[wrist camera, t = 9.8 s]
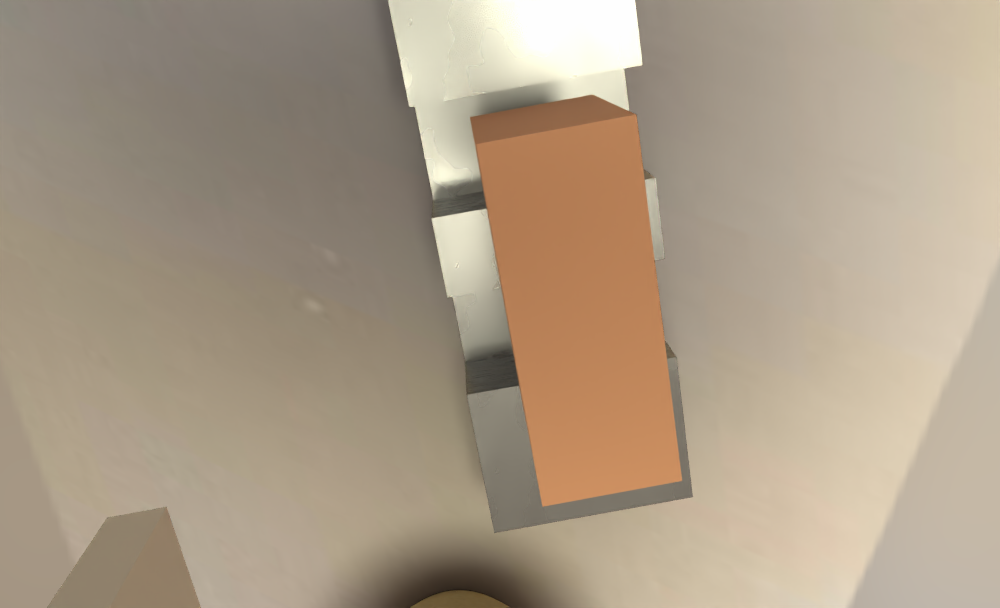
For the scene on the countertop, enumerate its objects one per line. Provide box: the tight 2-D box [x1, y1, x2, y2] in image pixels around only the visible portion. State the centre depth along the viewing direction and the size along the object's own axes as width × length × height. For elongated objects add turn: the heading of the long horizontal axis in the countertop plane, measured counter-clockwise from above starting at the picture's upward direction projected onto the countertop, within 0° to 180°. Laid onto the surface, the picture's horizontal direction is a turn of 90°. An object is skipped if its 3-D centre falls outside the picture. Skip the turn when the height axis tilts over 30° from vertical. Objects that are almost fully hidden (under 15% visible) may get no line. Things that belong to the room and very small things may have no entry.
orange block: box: [470, 94, 682, 507], centre depth 25 cm, size 9×4×10 cm, turn 10°
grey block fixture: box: [388, 0, 693, 533], centre depth 29 cm, size 20×7×4 cm, turn 10°
